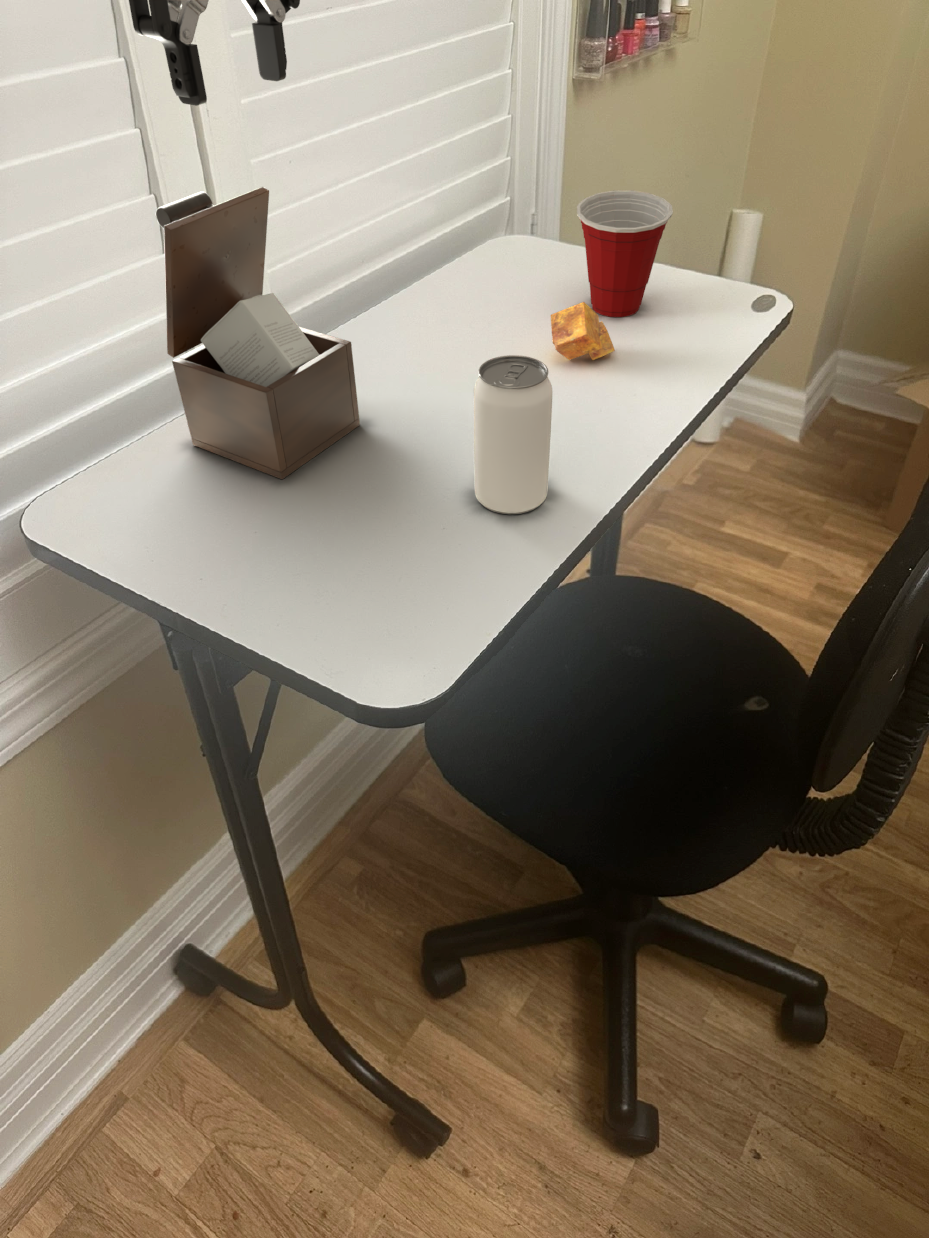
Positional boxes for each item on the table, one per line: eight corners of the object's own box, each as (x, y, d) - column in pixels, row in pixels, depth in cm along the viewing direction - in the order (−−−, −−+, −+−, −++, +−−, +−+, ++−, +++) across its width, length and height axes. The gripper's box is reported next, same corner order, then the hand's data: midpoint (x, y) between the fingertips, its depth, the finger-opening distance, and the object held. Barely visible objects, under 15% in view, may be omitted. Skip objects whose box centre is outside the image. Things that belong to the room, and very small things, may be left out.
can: (464, 508, 79) (461, 383, 71) (488, 470, 84) (488, 348, 76) (535, 522, 77) (540, 395, 69) (555, 483, 82) (563, 359, 74)
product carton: (281, 394, 88) (232, 330, 86) (323, 357, 85) (273, 290, 84) (249, 408, 83) (197, 340, 81) (293, 368, 80) (240, 297, 78)
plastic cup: (561, 322, 107) (567, 217, 99) (579, 287, 115) (586, 187, 107) (653, 332, 105) (666, 225, 97) (665, 295, 113) (679, 193, 104)
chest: (360, 425, 90) (351, 341, 84) (282, 479, 83) (266, 392, 77) (273, 395, 95) (259, 315, 89) (192, 445, 88) (171, 360, 82)
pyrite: (578, 341, 103) (581, 373, 102) (549, 313, 98) (551, 347, 97) (618, 325, 101) (621, 358, 100) (591, 296, 95) (593, 331, 94)
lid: (269, 190, 79) (225, 163, 80) (170, 230, 72) (123, 200, 73) (261, 312, 89) (221, 287, 90) (173, 358, 82) (131, 330, 83)
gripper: (223, -198, 63) (262, 68, 74) (55, -195, 55) (127, 106, 65) (305, -201, 60) (333, 78, 71) (141, -198, 51) (201, 119, 62)
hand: (234, 91), depth 68 cm, fingers open, 8 cm apart
